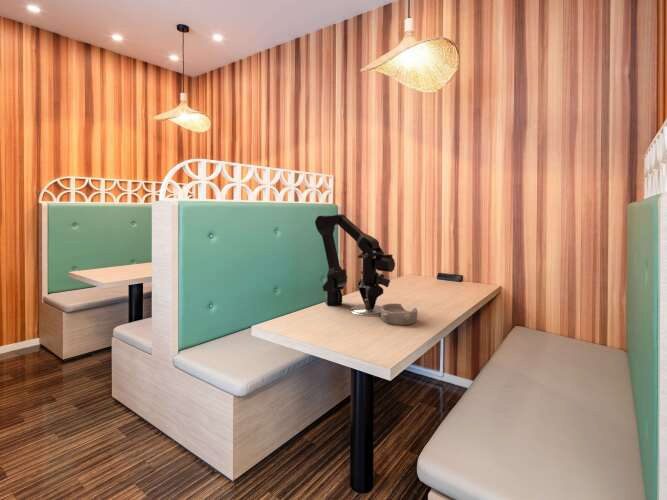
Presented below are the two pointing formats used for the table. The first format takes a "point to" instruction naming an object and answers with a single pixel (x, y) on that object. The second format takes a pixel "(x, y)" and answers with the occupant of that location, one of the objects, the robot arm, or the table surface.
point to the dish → (398, 314)
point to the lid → (366, 309)
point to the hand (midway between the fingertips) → (368, 306)
